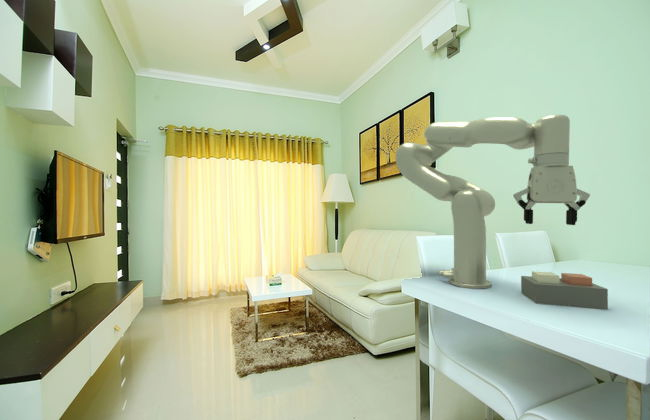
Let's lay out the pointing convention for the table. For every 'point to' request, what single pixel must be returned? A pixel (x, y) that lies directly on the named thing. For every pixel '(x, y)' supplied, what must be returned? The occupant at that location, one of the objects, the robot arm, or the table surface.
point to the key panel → (565, 294)
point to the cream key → (545, 277)
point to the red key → (576, 279)
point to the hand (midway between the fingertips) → (549, 224)
